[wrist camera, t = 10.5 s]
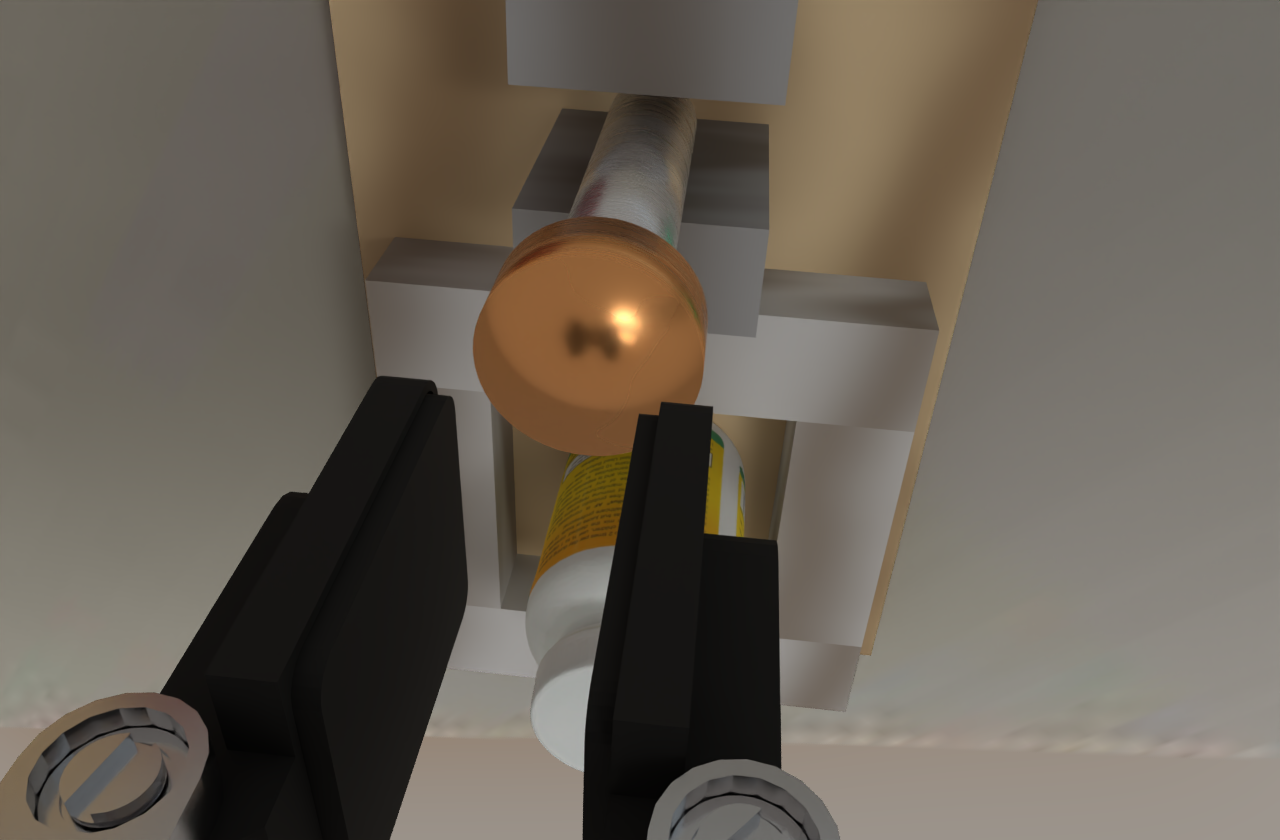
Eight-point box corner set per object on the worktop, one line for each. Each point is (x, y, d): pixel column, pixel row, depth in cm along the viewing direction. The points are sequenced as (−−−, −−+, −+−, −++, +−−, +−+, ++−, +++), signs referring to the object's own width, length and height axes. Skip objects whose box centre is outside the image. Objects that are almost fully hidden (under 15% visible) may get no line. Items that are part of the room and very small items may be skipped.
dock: (1053, -110, 22) (1153, -44, 16) (868, 633, 35) (887, 813, 30) (325, -156, 23) (180, -107, 17) (413, 585, 36) (347, 750, 30)
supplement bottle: (776, 499, 31) (780, 768, 23) (626, 557, 33) (584, 822, 25) (687, 366, 29) (659, 615, 21) (533, 436, 31) (453, 689, 23)
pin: (733, 52, 20) (713, 267, 12) (719, 198, 21) (694, 466, 14) (579, 41, 20) (466, 246, 12) (578, 187, 22) (478, 445, 14)
